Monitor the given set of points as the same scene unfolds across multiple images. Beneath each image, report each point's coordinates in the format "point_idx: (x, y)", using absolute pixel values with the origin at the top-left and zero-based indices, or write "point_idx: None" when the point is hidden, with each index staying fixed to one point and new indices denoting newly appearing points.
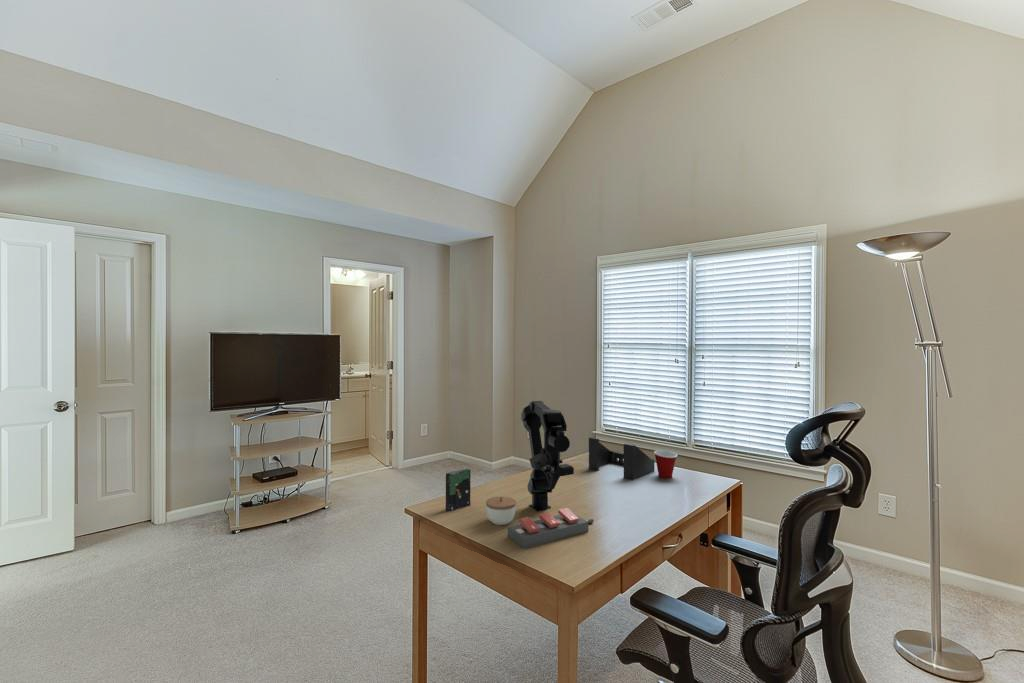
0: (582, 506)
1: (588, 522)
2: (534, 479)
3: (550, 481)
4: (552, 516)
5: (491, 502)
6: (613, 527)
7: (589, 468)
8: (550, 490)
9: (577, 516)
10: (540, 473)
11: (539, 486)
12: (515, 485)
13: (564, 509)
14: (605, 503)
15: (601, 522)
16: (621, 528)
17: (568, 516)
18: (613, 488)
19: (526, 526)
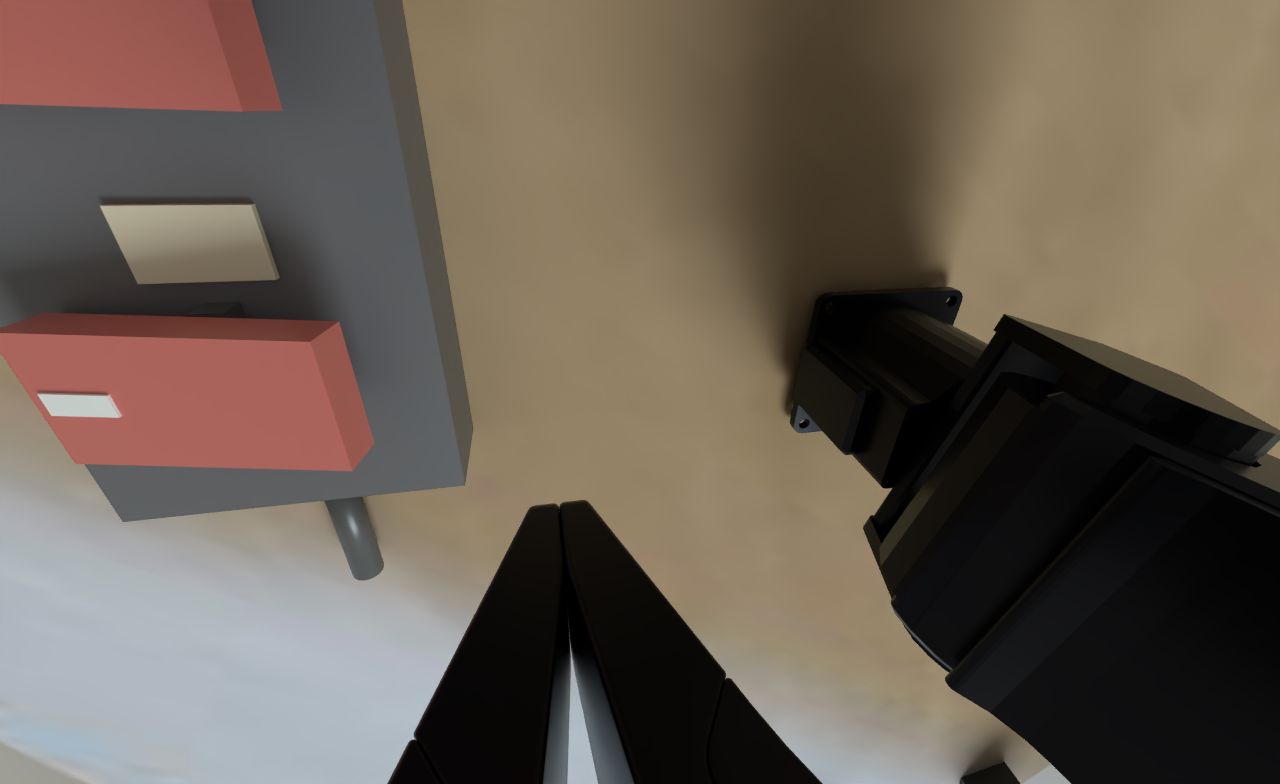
0: (689, 607)
1: (337, 530)
2: (1187, 456)
3: (506, 695)
4: (60, 95)
5: None
6: (246, 631)
7: (1010, 776)
8: (883, 533)
9: (322, 493)
10: (1219, 649)
11: (987, 446)
12: (1259, 416)
13: (306, 420)
14: None
15: (372, 603)
16: (211, 662)
17: (108, 367)
18: None
19: None
